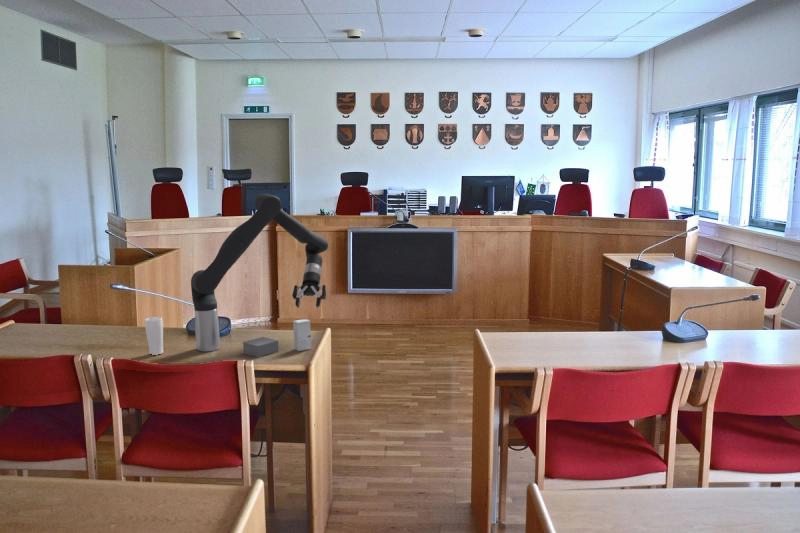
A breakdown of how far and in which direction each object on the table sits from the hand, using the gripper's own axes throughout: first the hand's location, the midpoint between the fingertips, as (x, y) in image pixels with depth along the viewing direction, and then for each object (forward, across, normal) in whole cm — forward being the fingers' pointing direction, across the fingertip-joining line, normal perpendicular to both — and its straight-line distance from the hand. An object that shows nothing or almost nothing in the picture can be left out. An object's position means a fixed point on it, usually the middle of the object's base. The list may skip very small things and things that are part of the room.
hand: (307, 306), depth 280 cm
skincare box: (+19, 0, +3) cm, 19 cm away
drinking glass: (+24, -60, -2) cm, 65 cm away
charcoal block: (+23, -16, 0) cm, 28 cm away
